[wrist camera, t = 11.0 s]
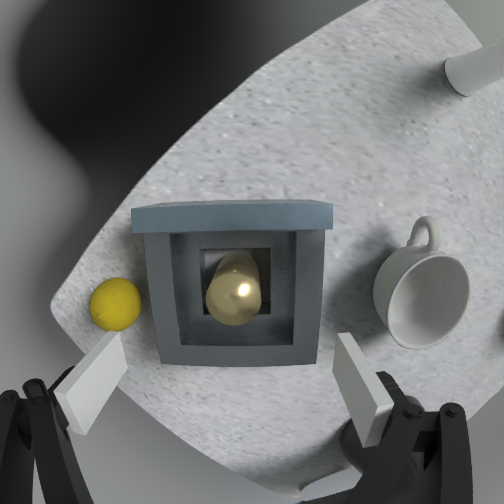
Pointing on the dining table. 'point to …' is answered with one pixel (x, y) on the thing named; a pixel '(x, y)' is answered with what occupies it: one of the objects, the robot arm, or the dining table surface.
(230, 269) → the brass cylinder
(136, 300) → the lemon
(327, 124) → the dining table surface
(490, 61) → the cosmetic bottle
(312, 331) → the jig
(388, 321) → the teacup
